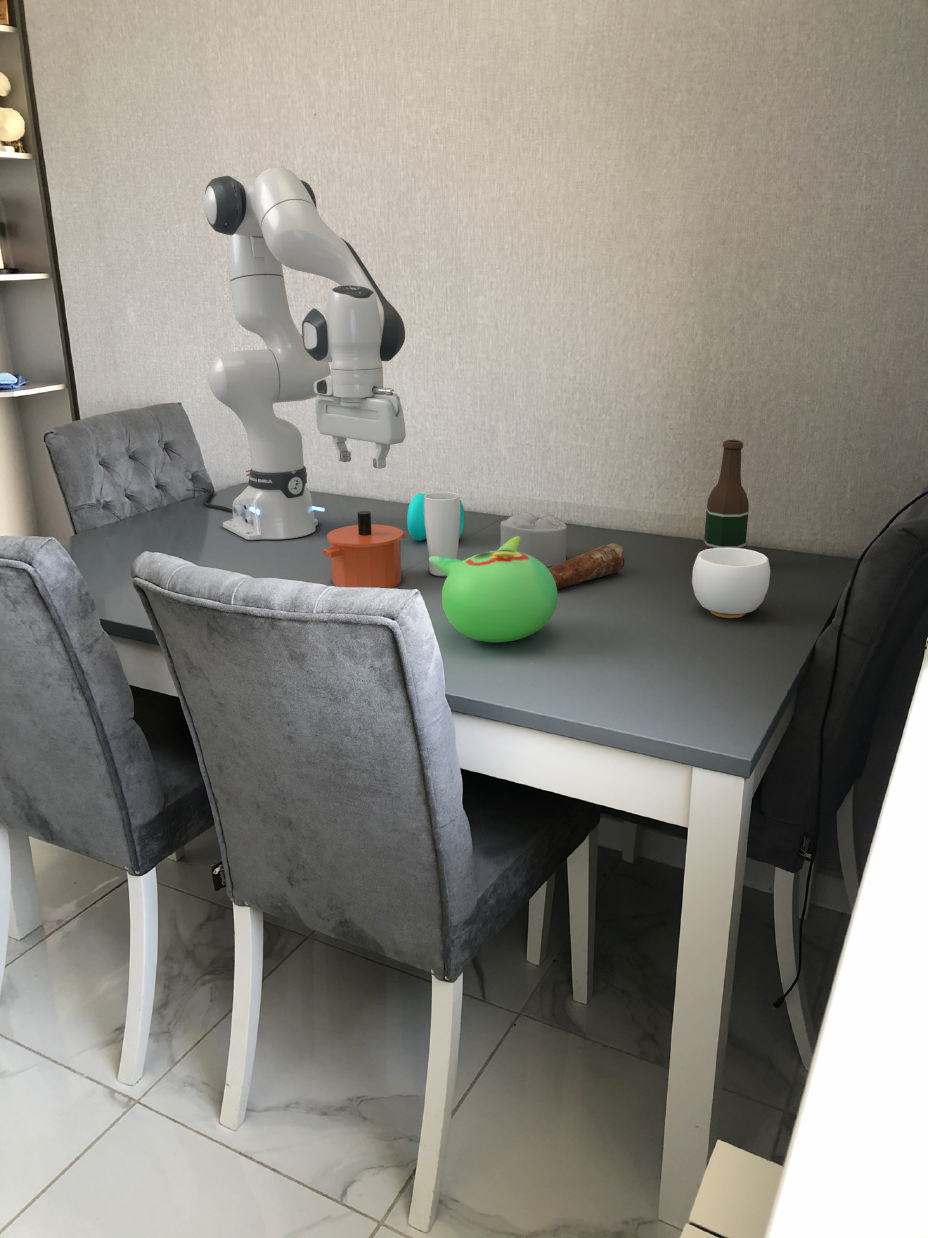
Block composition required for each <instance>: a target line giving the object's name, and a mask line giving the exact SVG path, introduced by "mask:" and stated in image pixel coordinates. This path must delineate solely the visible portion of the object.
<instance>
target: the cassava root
mask: <svg viewBox="0 0 928 1238" xmlns="http://www.w3.org/2000/svg"><path fill="white" fill-rule="evenodd" d="M624 549H625V548H624V546H622V545H620V544H617V543H614V542H612V543H610V544H605V545H601V546H598V547H597V548H593V549H591V550H589V551H586V552H583V553H581V554H578V555H576V556H573V557H571V558H570V559H566V561H564V562H562V563H559V564H557V565H555V566H551V567H548V570H549V571H550V572H551V574H552V576H553V578H554V580H555V583H556V587H557V590H558V589H563V588H566V587H570V586H575V585H578V584H581V583H583V582H586V581H587V582H588V581H591V580H595V579H598V578H602V577H605V576H609V575H613V574H616V573H617V572H619V571H621V570H623V569H624V566H625V562H626V561H625V556H624V551H625V550H624Z"/></svg>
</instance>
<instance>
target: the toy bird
mask: <svg viewBox="0 0 928 1238" xmlns="http://www.w3.org/2000/svg"><path fill="white" fill-rule="evenodd" d="M520 542H521V538H520V537H519V536H516V537H514V538H512V539H510V540H509V541H508V542H506V543H505V544H504V545H503V546H502V547H501V546H500V547H499V548H497V550H490V551H485V552H481V553H478V554H475V555H472V556H470V557H468V558H465V559H459V558H458V559H453V558H447V557H441V556H431V557H430V558H429V557H428V563H429V562H430V563H431V564H432V565H433V566H435V567H436V568H437V569H439V570H440V571H441V572H443V573H444V574H445V575H447V576H446V578H445V581H444V583H443V586H442V590H441V605H442V609H443V613H444V615H445V616H446V619H447V620H448V622H449V623H450V625H451V626H452V627H453V628H454V629H455V630H456V631H458V633H460V634H462V635H463V636H465V637H467V638H469V639H471V640H475V641H479V642H483V643H508V642H513V641H518V640H521V639H524V638H526V637H527V638H528V637H529V636H532V635H533V634H535V633H536V632H538V631H539V630H542V629H543V627H545V625H547V623H548V622H549V621H550V620H551V618H552V617H553V615H554V613H555V610H556V607H557V604H558V589H557V587H556V583H555V580H554V578H553V576H552V574H551V572H550V571H549V570H548V569H549V567H546V566H545V565H544V564H543V563H542V562H540V561H539V560H537V559H536V558H534V557H532V556H530V555H527V554H524V553H520V552H518V549H519V545H520Z"/></svg>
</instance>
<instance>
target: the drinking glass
mask: <svg viewBox="0 0 928 1238" xmlns="http://www.w3.org/2000/svg"><path fill="white" fill-rule="evenodd" d="M425 494H426V495H425V496H424V519H425V529H426V537H427V538H426V546H427V554H428V555H427V557H428V559H429V558H430V557H431V556H441V557H447V558H453V559H458V560H459V557H458V556H459V544H460V543H459V542H460V541H459V540H460V538H459V531H460V514H461V510H460V500H461V495H460V494H459V493H457V492H453V491H434V492H428V493H425ZM428 570H429V573H430V574H431V575H433V576H436V577H448V576H447V575H445V574H444V573H443V572H441V571H440V570H439V569H437V568H436V567H435V566H433V565H432V564H431V563H430V562H429V561H428Z"/></svg>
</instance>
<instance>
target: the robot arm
mask: <svg viewBox="0 0 928 1238" xmlns="http://www.w3.org/2000/svg"><path fill="white" fill-rule="evenodd" d="M203 208H204V212H205V216H206V220H207V222H208V225H209V226H210V227H211V228H212V230H214V231H215V232H217V233H220V234H222V235H226V236H228V239H227V268H228V270H227V271H228V278H229V286H230V292H231V299H232V305H233V314H234V317H235V319H236V321H237V322H238V324H239V325H240V326H241V327H242V328H243V329H245V330H246V331H249V332H251V333H252V334H253V333H254V334H256V335H257V336H259V337H260V338H261V340H263V342H264V344H265V346H266V348H267V349H251V350H250V349H248V350H235V351H231V352H227V353H224V354H221V355H217V356H216V357H215V358H213V360H212V362H211V363H210V365H209V369H208V375H207V379H208V384H209V385H208V386H209V388H210V390H211V392H212V394H213V395H214V397H215V398H216V399H217V400H218V401H219V402H220V403H221V404H223V405H225V406H226V407H228V408H229V409H230V410H231V411H232V412H234V414H235V415H236V416H237V417H238V419H239V420H240V421H241V423H242V425H243V427H244V430H245V432H246V437H247V440H248V441H247V442H248V446H249V453H250V462H251V469H249V470H245V473H247V474H245V476H246V477H248V481H247V487H246V488H244V490H243V491H242V492H241V493H240V494H239V495H238V496H237V497H235V499H234V500H233V502H232V508H230V507H227V506H223V505H218V504H212V503H210V502H208V501H209V500H210V498H211V496H213V494H214V491H213V490H212V489H211V488H208V487H206V488H207V489H206V488H200V489H201V490H203V491H206V492H208V494H206V496H205V498H204V499H203V501H202V503H203V504H204V505H205V506H206V507H208V508H213V509H216V510H223V511H227V512H228V513H232V518H230V519H228V520H225V521H223V522H222V528H224V529H226V530H227V531H230V532H232V533H233V534H235V535H237V536H239V537H240V538H243V539H245V540H247V541H257V540H258V541H259V540H288V539H295V538H300V537H305V536H308V535H311V534H313V533H314V532H316V530H317V528H316V527H317V526H318V525H319V520H318V519H317V518H316V517H315V512H314V511H319V512H325V507H318V506H314V505H313V500H312V495H311V494H312V493H311V490H310V489H309V488H308V487H307V484H308V472H307V467H306V466H305V464H304V449H303V448H304V447H303V436H302V432H301V431H300V429H299V428H298V427H297V425H295V424H293V422H290V421H288V420H286V419H284V418H281V417H278V416H277V415H276V414H275V411H274V404H276V403H277V404H279V403H288V402H289V403H290V402H291V403H292V402H303V401H308V400H311V399H314V398H315V403H314V406H315V407H314V408H315V410H314V411H315V422H316V423H315V424H316V428H317V430H318V432H319V433H320V434H321V435H325V436H331V437H332V443H333V445H334V447H335V450H336V452H337V457H338V458H337V459H338V461H339V462H342V463H349V462H351V461H352V457H351V455H352V451H350V450H348V447H347V444H346V442H347V440H349V439H350V440H356V441H363V442H370V443H373V444H375V449H376V450H377V451H376V452H377V453H376V455H375V457H373V458H372V467H373V468H374V469H380V470H381V469H385V468H386V467H387V459H386V458H387V457H388V455H389V452H390V450H391V446H393V445H397V444H402V443H403V442H404V441H405V440H406V436H407V433H406V423H405V416H404V411H403V406H402V404H401V397H400V396H399V395H398V393H396V391H395V390H394V389H393V388H390V387H387V388H385V387H384V367H383V362H390V361H391V360H392V359H394V358H395V356H397V354H398V353H399V352H400V351H401V350H402V348H403V346H404V344H405V340H406V327H405V323H404V321H403V318H402V316H401V315H400V313H399V312H398V311H397V309H396V308H395V307H394V306H393V305H392V304H391V303H390V302H389V300H387V298H386V296H385V295H384V294H383V292H382V291H381V289H380V288H379V286H378V284H377V283H376V281H375V280H374V278H373V277H372V275H371V273H370V271H369V270H368V268H367V267H366V265H365V264H364V263H363V261H362V260H361V259H362V258H360V256H359V255H358V253H357V252H356V250H355V249H354V248H353V246H352V245H351V244H350V243H349V242H348V241H347V240H345V239H344V238H343V237H341V236H339V235H338V234H337V233H335V231H334V230H332V228H330V226H328V224H327V223H326V222H325V221H324V219H323V218H322V217H321V215H320V214H319V212H318V209H317V200H316V195H315V192H314V190H313V188H312V187H311V185H310V184H309V183H308V182H307V181H305V180H303V179H300V178H299V176H297V174H296V173H295V172H293V171H292V170H291V169H288V168H286V167H284V166H283V167H282V166H281V167H280V166H274V167H269V168H267V169H265V170H263V171H262V172H261V173H259V175H241V176H230V175H221V176H218V177H214V178H212V179H211V180H210V181H209V182H208V184H207V185H206V187H205V191H204V198H203ZM283 266H285V267H287V268H289V269H291V270H293V271H297V272H302V273H306V274H312V275H315V276H319V277H323V278H325V279H329V280H330V281H332V282H335V283H336V284H338V286H335V287H333V288H332V289H330V290H329V294H328V299H327V301H325V302H324V303H322V304H321V305H319V306H318V307H313V308H311V309H310V310H309V312H308V313H307V314H306V315H305V317H304V318H303V320H302V323H301V332H300V330H299V329H298V328H297V326H296V324H295V322H294V320H293V317H292V313H291V310H290V305H289V299H288V295H287V289H286V283H285V276H284V270H283ZM330 363H331V366H330ZM196 488H198V487H196ZM198 489H199V488H198Z"/></svg>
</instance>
